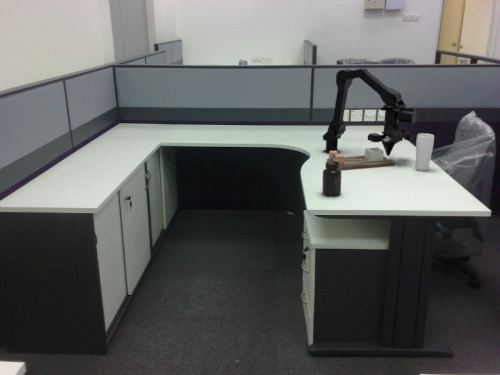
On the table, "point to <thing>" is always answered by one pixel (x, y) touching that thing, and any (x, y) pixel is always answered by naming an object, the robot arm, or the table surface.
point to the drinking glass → (424, 151)
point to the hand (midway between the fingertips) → (388, 155)
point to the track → (357, 161)
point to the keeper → (373, 154)
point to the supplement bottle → (331, 179)
